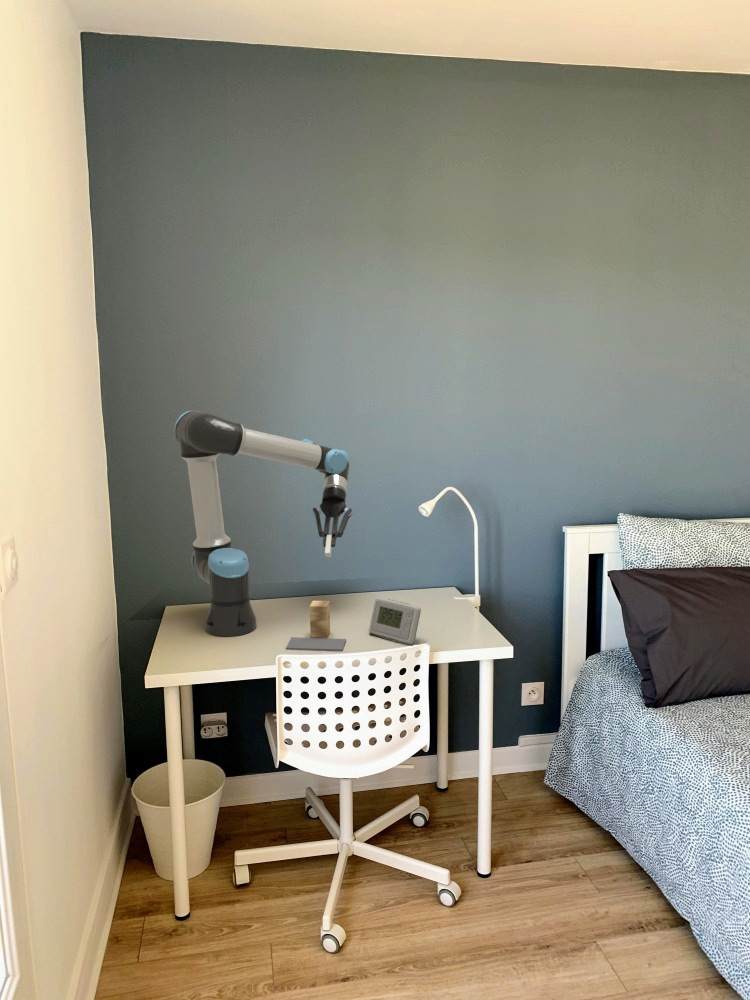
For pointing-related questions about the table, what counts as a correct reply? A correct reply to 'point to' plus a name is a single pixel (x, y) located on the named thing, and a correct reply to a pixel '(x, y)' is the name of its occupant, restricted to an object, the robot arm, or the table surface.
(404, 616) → the digital clock
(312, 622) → the oak block
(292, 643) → the mat
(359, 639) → the table surface
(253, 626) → the robot arm
